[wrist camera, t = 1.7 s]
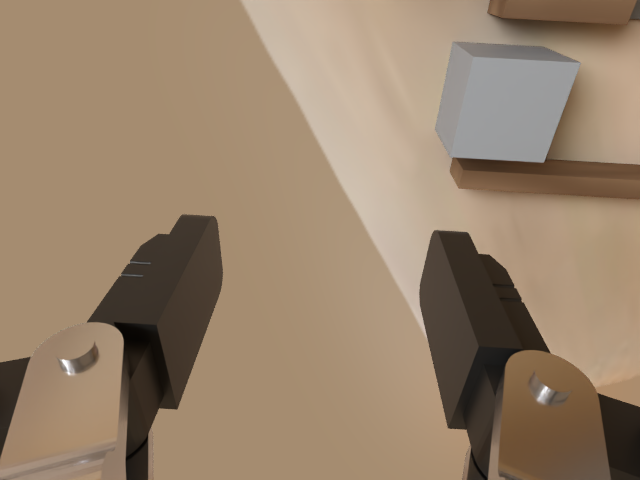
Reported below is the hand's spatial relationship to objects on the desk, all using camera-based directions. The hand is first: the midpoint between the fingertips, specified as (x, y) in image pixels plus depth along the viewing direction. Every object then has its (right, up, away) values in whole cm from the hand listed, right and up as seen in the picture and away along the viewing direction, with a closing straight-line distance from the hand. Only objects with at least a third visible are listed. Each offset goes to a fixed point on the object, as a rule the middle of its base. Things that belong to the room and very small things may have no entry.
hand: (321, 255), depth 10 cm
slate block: (+10, +9, +14) cm, 20 cm away
